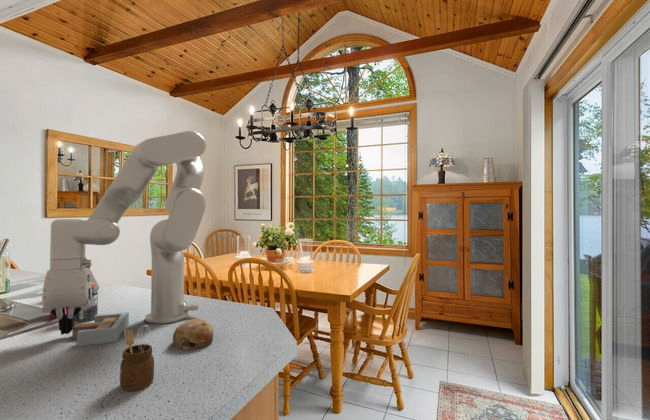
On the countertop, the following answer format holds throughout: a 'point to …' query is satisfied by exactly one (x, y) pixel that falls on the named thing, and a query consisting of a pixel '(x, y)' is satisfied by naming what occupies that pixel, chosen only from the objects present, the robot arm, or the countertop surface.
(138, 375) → the utensil holder
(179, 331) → the bread roll
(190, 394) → the countertop surface
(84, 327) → the T block
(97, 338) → the pocket
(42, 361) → the countertop surface
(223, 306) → the countertop surface
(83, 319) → the pill bottle
